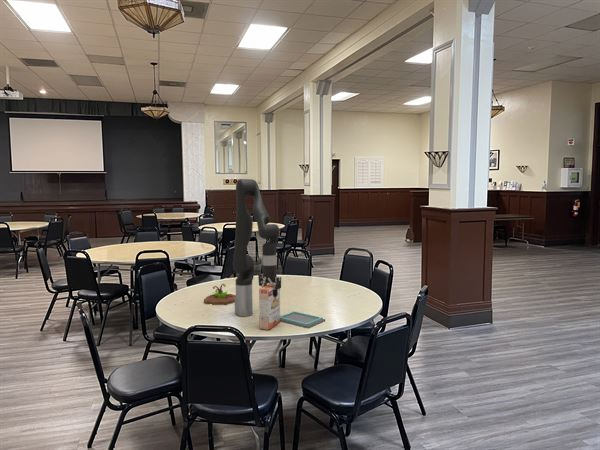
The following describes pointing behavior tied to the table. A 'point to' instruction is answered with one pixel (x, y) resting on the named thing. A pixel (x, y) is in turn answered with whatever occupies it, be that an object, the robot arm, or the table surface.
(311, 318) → the baseplate
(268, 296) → the cracker box
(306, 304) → the table surface
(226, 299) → the plant
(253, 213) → the robot arm
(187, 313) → the table surface
